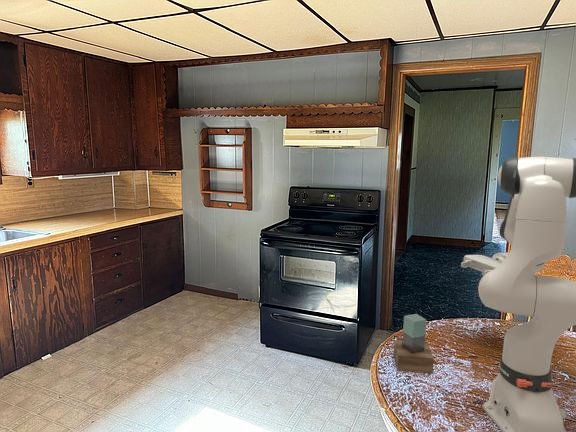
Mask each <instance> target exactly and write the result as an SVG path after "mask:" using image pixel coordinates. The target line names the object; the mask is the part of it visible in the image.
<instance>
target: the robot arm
mask: <svg viewBox="0 0 576 432" xmlns="http://www.w3.org/2000/svg"><path fill="white" fill-rule="evenodd" d="M497 181H498V185H499V187H500V189H501V190H502V192H504V193H505V194H507V195H510V198H509V202H508V205H507V208H506V211H505V215H504V219H503V220H502V223H500V225H499V236H500V237H501V238H503V240H504V241H506V242H507V243H509V244H510V245H511V248H510V251H506V252H505V251H504V252H498V253H495V254H493V256H492V257H489V256H486V255H483V254H482V255H481V254H466V255H463V256H464V257H463V261H462V262H461V263H460V267H461V268H464V269H467V268H470V269H473V270H476V271H479V272H481V275H482V278H481V279H480V280H479V283H478V289H477V291H478V296H479V298H480V300H481V302H482V304H483V306H485V307H486V308H489V309H493V310H495V311H498V312H501V313H505V314H511V315H518V316H523V317H530V318H531V319H530V320H529V321H527V322H524V323H521V324H517V325H514V326H512V327H511V328H509V329H508V330H507V331H506V332H505V334H504V338H503V346H502V347H503V348H502V356H501V357H500V359H499V363H498V374H497V376H496V377H495V378H494V379H493V380H492V382H491V386H490V387H491V388H490V393H489V398H488V401H486V402H484V403H483V404H482V405H483V406H482V409H483V411H485V413H486V414H487V415H488V416H489V417H490V419H491V420H492V421H493V422H494V423H495V425H496V426H497V427H498V429H500V430H501V432H567V430H566V428H565V425H564V420H565V419H566V418H567V412H566V410H565V409H564V408H560V407H559V404H558V400H559V398H558V396H557V395H555V393H554V391H553V375H552V370H551V369H552V368H551V363H552V358H553V357H552V356H553V352H554V349H555V346H556V343H557V341H558V340H559V339H560V337H561V336H562V335H563V334H564V333H565V332H566V331H567V330H568V329H570V328H572V327H574V326H576V280H573V279H568V278H564V277H558V276H549V275H548V276H547V275H540V274H536V273H538V272H541V270H543V269H544V268H545V266H546V264H547V262H550V261H553V260H556V259H557V258H559V257H560V256H561V255H562V253H563V251H564V247H565V238H566V237H565V235H566V227H567V226H566V225H567V198H569V199H573V198H576V158H575V157H573V158H566V157H556V156H555V157H554V156H553V157H551V156H550V157H549V156H544V155H543V156H526V157H518V156H516V157H515V156H514V157H509V158H505V160H504V161H503V162H502V165H501V166H500V167H499V169H498V173H497Z"/></svg>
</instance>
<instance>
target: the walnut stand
mask: <svg viewBox="0 0 576 432" xmlns="http://www.w3.org/2000/svg"><path fill="white" fill-rule="evenodd" d="M402 342H403V339H401V340H399V339H394V340H393V356H394V361H395V365H396V366H395V367H396V371H401V372H402V371H403V372H415V373H429V374H434V363H435V358H434V355H433V353H432V350H431V348H430V346H429V344H428V341H425V347H424V351H423V352H418V353H413V354H411V353H410V352H409V351H407V350H406V349H405V348H403V347H402Z"/></svg>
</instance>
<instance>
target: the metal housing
mask: <svg viewBox="0 0 576 432" xmlns="http://www.w3.org/2000/svg"><path fill="white" fill-rule="evenodd" d="M402 326H403V328H402V340H403V342H402V347H403V348H405V349H406V350H407V351H409V352H410V353H411V354H413V353H418V352H423V351H424V347H425V342H426V330H427V319H426V318H424V317H423V316H422V315H419V314H418V313H414V314H406V315H403V325H402Z"/></svg>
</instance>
